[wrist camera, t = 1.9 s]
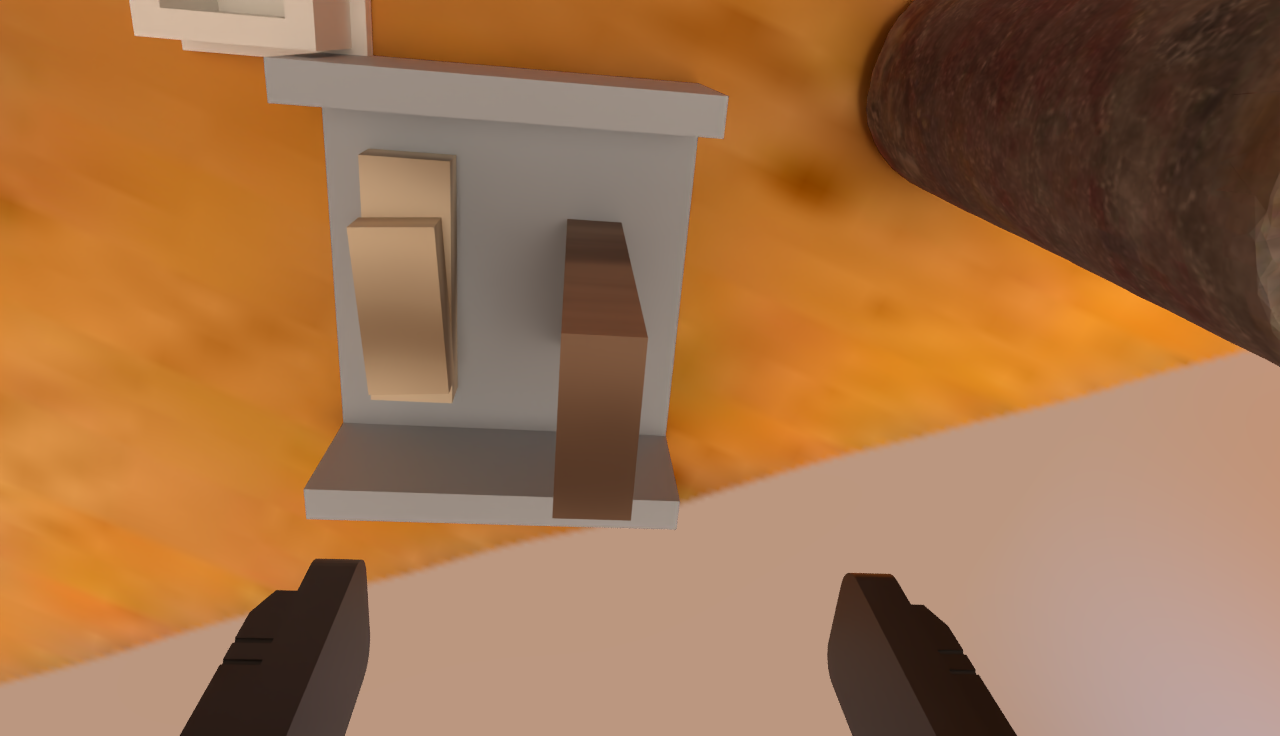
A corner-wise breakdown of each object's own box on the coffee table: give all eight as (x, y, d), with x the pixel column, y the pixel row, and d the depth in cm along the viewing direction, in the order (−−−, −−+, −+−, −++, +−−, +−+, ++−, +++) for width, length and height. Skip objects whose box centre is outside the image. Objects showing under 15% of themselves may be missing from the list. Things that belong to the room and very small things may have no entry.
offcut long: (368, 148, 28) (358, 154, 26) (456, 154, 28) (449, 161, 27) (379, 383, 31) (370, 399, 30) (457, 387, 31) (452, 403, 30)
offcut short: (358, 217, 27) (346, 227, 26) (441, 217, 27) (434, 227, 26) (378, 378, 29) (368, 395, 28) (454, 376, 30) (448, 393, 28)
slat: (567, 218, 29) (561, 333, 18) (621, 222, 29) (648, 338, 18) (560, 345, 31) (552, 518, 20) (612, 347, 31) (630, 520, 20)
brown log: (983, 219, 32) (1550, 482, 13) (820, 155, 30) (1201, 349, 12) (1088, 24, 29) (1977, 11, 11) (914, -58, 27) (1597, -237, 9)
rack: (328, 51, 27) (263, 57, 22) (698, 83, 29) (728, 96, 23) (353, 435, 33) (306, 518, 28) (660, 447, 34) (676, 529, 29)
